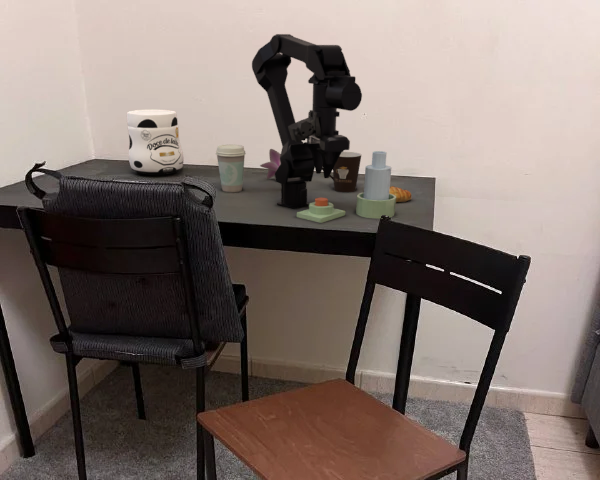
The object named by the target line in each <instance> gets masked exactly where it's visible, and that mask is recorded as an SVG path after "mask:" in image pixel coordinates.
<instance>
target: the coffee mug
mask: <svg viewBox="0 0 600 480" xmlns="http://www.w3.org/2000/svg"><path fill="white" fill-rule="evenodd" d="M361 160H362V154H361V153H359V152H355V151H343V152H342V153H341V155H340V156H339V158H338V160H337V162H336V164H335V166H334V168H333V170H332V174H330V176H329V178H331V179H332V181H333V190H334V191H335V192H339V193H352V192H353V193H354V192H356V189H357V183H358V179H359V172H360V165H361V162H362V161H361ZM322 171H323V168H322Z"/></svg>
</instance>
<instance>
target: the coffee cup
mask: <svg viewBox="0 0 600 480" xmlns="http://www.w3.org/2000/svg"><path fill="white" fill-rule="evenodd" d="M246 154H247V153H246V150H245V147H244V146H243V145H241V144H221V145H217V147H216V151H215V155H216V158H217V164H218V171H219V177H220V184H221V190H222V192H225V193H238V192H242V191H243V184H244V170H245V169H244V168H245V155H246Z"/></svg>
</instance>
